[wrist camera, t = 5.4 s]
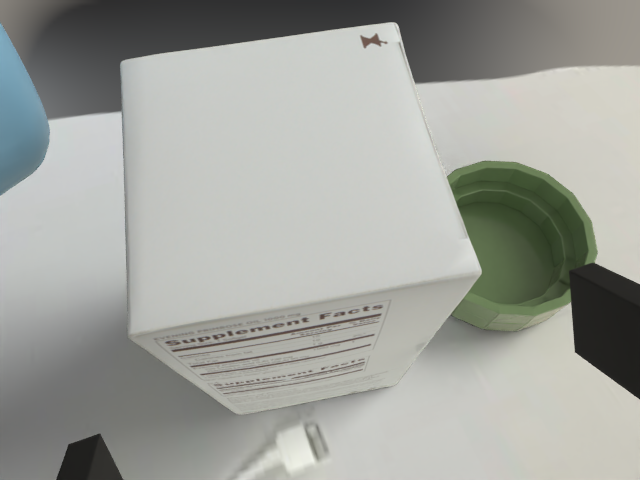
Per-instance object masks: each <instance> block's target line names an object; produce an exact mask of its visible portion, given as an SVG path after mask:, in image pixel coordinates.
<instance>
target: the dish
mask: <svg viewBox="0 0 640 480" xmlns="http://www.w3.org/2000/svg"><path fill="white" fill-rule="evenodd" d="M447 180H448V182H449V185H450V188H451V190H452V193H453V196H454V199H455V201H456V204H457V207H458V209H459V212H460V215H461V217H462V220H463V223H464V225H465V228H466V231H467V234H468V237H469V239H470V241H471V244H472V246H473V249H474V251H475V254H476V256H477V259H478V262H479V264H480V267H481V270H482V274H481V275H480V277H479V278H478V279H477V280H476V282H475V283H474V284H473V286H472V287H471V289H470V290H469V291H468V293H467V294H466V295H465V296H464V298H463V299H462V300H461V302H460V303H459V304H458V305H457V307H456V308H455V309H454V310H453V312H452V313H451V315H452V316H453V317H456V318H458V319H460V320H462V321H465V322H467V323H469V324H472V325H474V326H476V327H478V328H481V329H485V330H503V331H519V330H522V329H524V328H527V327H530V326H533V325H535V324H538V323H541V322H544V321H546V320H547V319H549V318H550V317H551V316H553V315H554V314H556V313H557V312H558V311H560V310H561V309H562V308H564V307H565V306H566V305H568V304H569V303H570V302H571V291H570V278H569V271H570V270H572V269H575V268H578V267H581V266H584V265H587V264H590V263H595V261H596V257H597V252H598V251H597V245H596V240H595V235H594V230H593V225H592V222H591V220H590V218H589V217H588V215H587V214H586V212H585V210H584V209H583V207H582V206H581V204H580V203H579V201H578V200H577V198H576V197H575V195H573V193H572V192H570V191H569V190H568V189H567V188H565V187H564V186H563V185H561V184H560V183H559V182H558V181H556V180H555V179H554V178H552V177H551V176H550V175H549V174H547V173H544V172H541V171H539V170H536V169H533V168H531V167H528V166H525V165H522V164H520V163H517V162H501V161H482V162H479V163H475V164H472V165H469V166H466V167H462V168H459V169H456V170H454V171H453V172H452V173H451V174H450V175H448V176H447Z"/></svg>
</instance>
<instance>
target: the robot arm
mask: <svg viewBox="0 0 640 480" xmlns="http://www.w3.org/2000/svg"><path fill="white" fill-rule="evenodd" d="M49 135H50V129H49V124H48V120H47V117H46V113H45V110H44V108H43V105H42V102H41V100H40V98H39V96H38V94H37V91H36V89H35V87H34V85H33V83H32V81H31V79H30V77H29V75H28V73H27V71H26V69H25V67H24V65H23V63H22V61H21V59H20V57H19V55H18V53H17V52H16V50H15V48H14V46H13V44H12V42H11V40H10V39H9V37H8V35H7V33H6V32H5V30H4V28H3V26H2V25H1V23H0V195H2V194H3V193H5V192H6V191H8V190H9V189H11V188H12V187H13V186H15V185H16V184H18V183H19V182H21V181H22V180H24V179H25V178H27V177H28V176H29V175H31V174H32V173H33V172H34V171H35V170H36V169H37V168H38V167H39V166H40V165H41V163H42V162H43V160H44V158H45V154H46V151H47V149H48V145H49ZM569 278H570V291H571V305H572V318H573V331H574V345H575V353H577V354H578V355H580V356H581V357H582V358H584V359H585V360H586V361H588V362H589V363H591V364H592V365H593V366H595V367H596V368H597V369H599V370H600V371H602V372H603V373H604V374H606V375H607V376H608V377H610V378H611V379H613V380H614V381H615V382H617V383H618V384H619V385H621V386H622V387H623V388H625V389H626V390H628V391H629V392H630V393H632V394H633V395H634V396H636V397H637V398H639V399H640V284H638V283H636V282H634V281H631V280H629V279H627V278H625V277H623V276H621V275H619V274H616V273H614V272H612V271H610V270H608V269H606V268H604V267H602V266H599V265H597V264H595V263H590V264H587V265H584V266H581V267H578V268H575V269H572V270H570V271H569ZM56 480H123V478H122V476H121V474H120V472H119V470H118V468H117V466H116V464H115V462H114V460H113V458H112V456H111V454H110V452H109V450H108V448H107V446H106V444H105V442H104V440H103V438H102V436H101V434H97V435H94V436H92V437H89V438H86V439H83V440H80V441H77V442H74V443H71V444H69V445H68V448H67V451H66V453H65V456H64V459H63V462H62V465H61V468H60V471H59V473H58V476H57V479H56Z"/></svg>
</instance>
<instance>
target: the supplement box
mask: <svg viewBox="0 0 640 480" xmlns="http://www.w3.org/2000/svg"><path fill="white" fill-rule="evenodd" d="M120 72H121V98H122V131H123V158H124V190H125V235H126V270H127V311H128V327H127V336H128V338H129V339H130V340H132V341H133V342H134V343H136V344H137V345H139V346H140V347H142V348H143V349H145V350H146V351H147V352H149V353H150V354H151V355H153V356H154V357H156V358H157V359H159V360H160V361H162V362H163V363H164V364H166V365H167V366H169V367H170V368H172V369H173V370H174V371H176V372H177V373H178V374H180V375H181V376H183V377H184V378H185V379H187V380H188V381H190V382H191V383H193V384H194V385H196V386H197V387H198V388H200V389H201V390H202V391H204V392H205V393H207V394H208V395H209V396H211V397H212V398H214V399H215V400H217V401H218V402H219V403H221V404H222V405H224V406H225V407H226V408H228V409H229V410H231V411H232V412H234V413H235V414H237V415H242V414H249V413H255V412H261V411H266V410H272V409H277V408H282V407H287V406H292V405H297V404H302V403H307V402H312V401H317V400H322V399H327V398H332V397H337V396H343V395H348V394H353V393H358V392H363V391H369V390H374V389H379V388H384V387H389V386H394V385H396V384H397V383H398V382H399V381H400V379H401V378H402V376H403V375H404V374H405V372H406V371H407V370H408V369H409V367H410V366H411V365H412V363H413V362H414V361H415V360H416V358H417V357H418V356H419V354H420V352H421V351H422V350H423V349H424V348H425V347H426V346H427V344H428V343H429V341H430V340H431V339H432V338H433V336H434V335H435V334H436V332H437V331H438V330H439V328H440V327H441V326H442V324H443V323H444V322H445V321H446V319H447V318H448V317H449V315H450V314H451V313H452V312H453V310H454V309H455V308H456V307H457V305H458V304H459V303H460V302H461V300H462V299H463V298H464V296H465V295H466V294H467V293H468V291H469V290H470V289H471V287H472V286H473V284H474V283H475V282H476V280H477V279H478V278H479V277H480V275H481V274H482V270H481V267H480V264H479V262H478V259H477V256H476V254H475V251H474V249H473V246H472V244H471V241H470V239H469V237H468V234H467V231H466V228H465V225H464V223H463V220H462V217H461V215H460V212H459V209H458V207H457V204H456V201H455V199H454V196H453V193H452V190H451V188H450V185H449V182H448V180H447V177H446V174H445V171H444V169H443V166H442V163H441V161H440V158H439V155H438V152H437V149H436V146H435V144H434V141H433V138H432V135H431V132H430V129H429V126H428V123H427V121H426V118H425V115H424V112H423V108H422V105H421V102H420V99H419V96H418V93H417V89H416V86H415V83H414V80H413V77H412V74H411V70H410V67H409V64H408V61H407V58H406V54H405V51H404V47H403V43H402V39H401V35H400V31H399V27H398V25H397V24H396V23H384V24H375V25H367V26H359V27H352V28H344V29H337V30H330V31H323V32H315V33H308V34H301V35H294V36H287V37H280V38H273V39H266V40H259V41H252V42H244V43H237V44H230V45H223V46H216V47H209V48H201V49H193V50H186V51H178V52H170V53H163V54H156V55H150V56H145V57H139V58H133V59H128V60H124V61H122V62H121V64H120Z"/></svg>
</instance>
